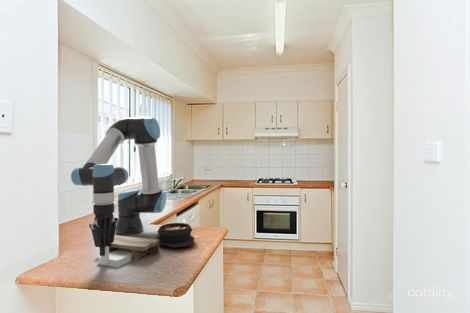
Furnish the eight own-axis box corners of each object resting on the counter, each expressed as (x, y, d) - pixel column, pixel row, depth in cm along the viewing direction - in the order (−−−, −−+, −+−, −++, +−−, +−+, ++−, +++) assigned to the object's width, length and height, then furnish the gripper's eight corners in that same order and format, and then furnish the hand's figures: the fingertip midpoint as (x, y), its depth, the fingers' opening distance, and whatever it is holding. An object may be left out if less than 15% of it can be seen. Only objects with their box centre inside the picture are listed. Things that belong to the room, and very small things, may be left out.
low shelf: (115, 248, 139) (115, 235, 139) (159, 253, 131) (159, 239, 131) (97, 255, 128) (97, 242, 128) (143, 261, 120) (143, 247, 120)
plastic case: (122, 253, 132) (122, 247, 132) (141, 256, 128) (141, 249, 128) (97, 265, 119) (97, 257, 119) (117, 268, 115) (117, 260, 115)
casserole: (148, 240, 151) (148, 223, 151) (182, 234, 161) (182, 219, 161) (165, 254, 130) (165, 235, 130) (203, 246, 140) (203, 228, 140)
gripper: (108, 200, 123) (109, 256, 124) (82, 205, 111) (84, 267, 112) (123, 201, 121) (124, 258, 121) (98, 206, 109) (99, 270, 109)
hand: (105, 262), depth 116 cm, fingers closed
